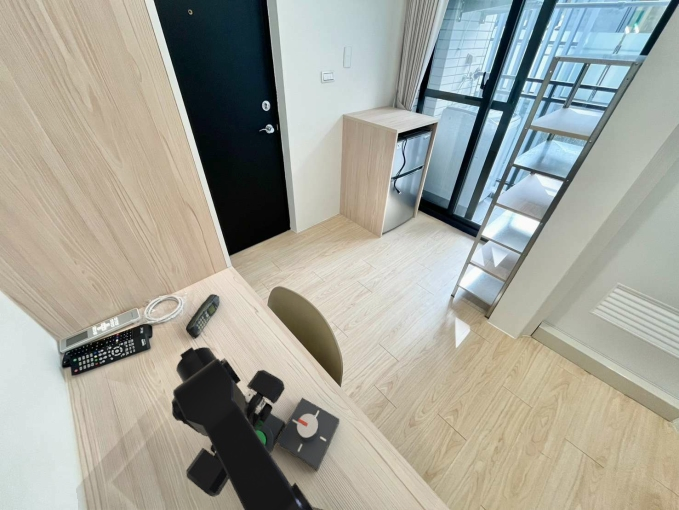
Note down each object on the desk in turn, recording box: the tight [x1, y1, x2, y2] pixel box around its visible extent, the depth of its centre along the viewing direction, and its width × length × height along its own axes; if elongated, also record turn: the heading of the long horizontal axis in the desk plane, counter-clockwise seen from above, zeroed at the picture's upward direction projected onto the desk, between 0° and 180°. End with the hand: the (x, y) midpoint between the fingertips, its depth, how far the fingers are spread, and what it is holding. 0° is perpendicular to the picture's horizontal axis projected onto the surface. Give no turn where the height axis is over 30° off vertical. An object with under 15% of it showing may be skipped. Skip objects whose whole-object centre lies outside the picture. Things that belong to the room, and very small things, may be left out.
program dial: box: [297, 414, 319, 442], centre depth 58 cm, size 4×4×4 cm
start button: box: [256, 431, 266, 445], centre depth 57 cm, size 4×4×2 cm
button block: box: [254, 412, 287, 454], centre depth 60 cm, size 10×11×4 cm
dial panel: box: [276, 397, 340, 472], centre depth 60 cm, size 10×10×3 cm
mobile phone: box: [185, 293, 220, 339], centre depth 82 cm, size 5×3×15 cm
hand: (251, 436), depth 54 cm, fingers open, 3 cm apart
